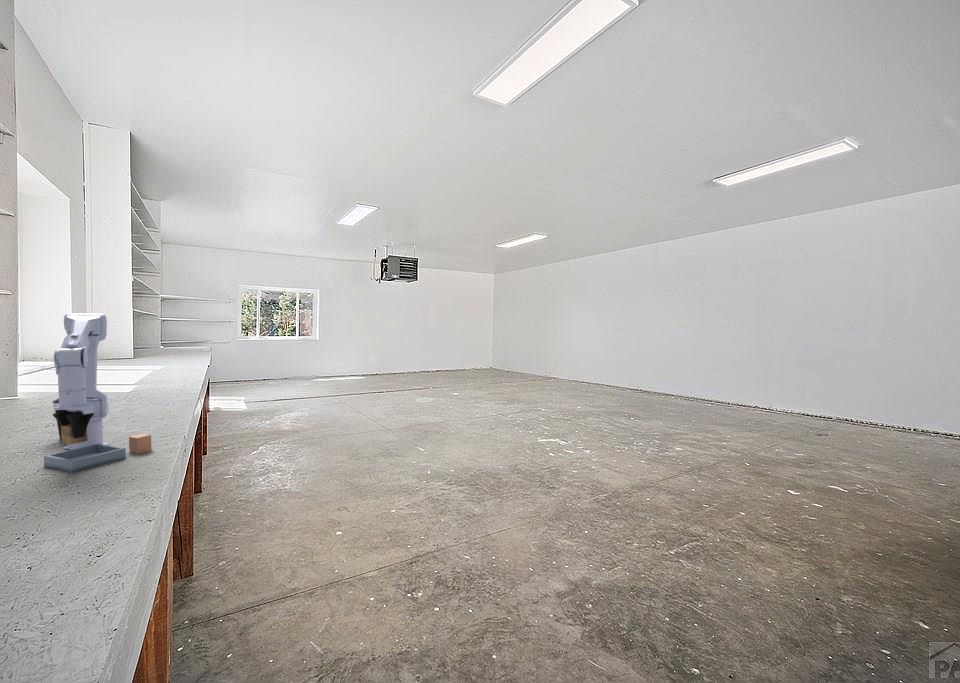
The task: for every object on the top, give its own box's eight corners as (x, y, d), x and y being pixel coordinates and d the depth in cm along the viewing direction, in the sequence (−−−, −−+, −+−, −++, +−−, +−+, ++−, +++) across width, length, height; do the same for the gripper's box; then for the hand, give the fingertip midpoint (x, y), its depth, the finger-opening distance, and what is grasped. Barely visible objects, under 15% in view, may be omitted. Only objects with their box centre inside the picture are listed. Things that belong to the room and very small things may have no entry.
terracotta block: (129, 452, 134) (128, 436, 133) (143, 448, 137) (142, 433, 137) (137, 453, 132) (137, 438, 132) (151, 450, 136) (151, 434, 136)
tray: (44, 466, 120) (43, 455, 120) (98, 452, 132) (97, 443, 132) (72, 472, 116) (72, 461, 116) (125, 457, 128) (125, 448, 128)
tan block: (78, 439, 124) (78, 422, 124) (87, 440, 123) (86, 423, 122) (61, 443, 120) (60, 425, 120) (70, 444, 119) (69, 427, 119)
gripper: (39, 390, 119) (41, 437, 120) (70, 393, 114) (72, 442, 115) (70, 386, 126) (71, 431, 127) (101, 389, 121) (103, 436, 122)
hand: (74, 436), depth 121 cm, fingers closed on tan block, 4 cm apart
